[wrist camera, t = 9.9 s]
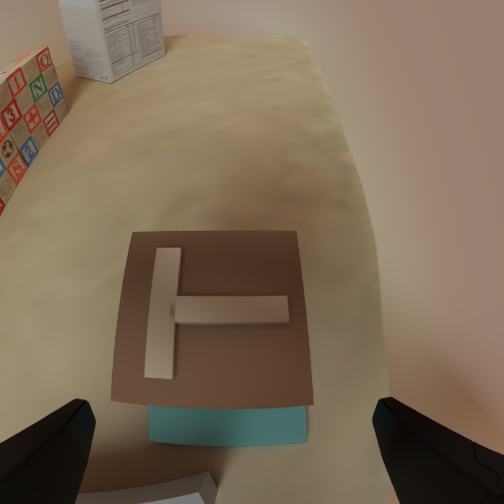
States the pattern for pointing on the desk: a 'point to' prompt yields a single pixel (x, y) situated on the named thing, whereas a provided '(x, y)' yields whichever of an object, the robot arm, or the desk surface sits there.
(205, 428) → the mat
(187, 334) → the letter block
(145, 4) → the supplement box
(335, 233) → the desk surface
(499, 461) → the robot arm
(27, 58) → the stack of blocks
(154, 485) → the screen
